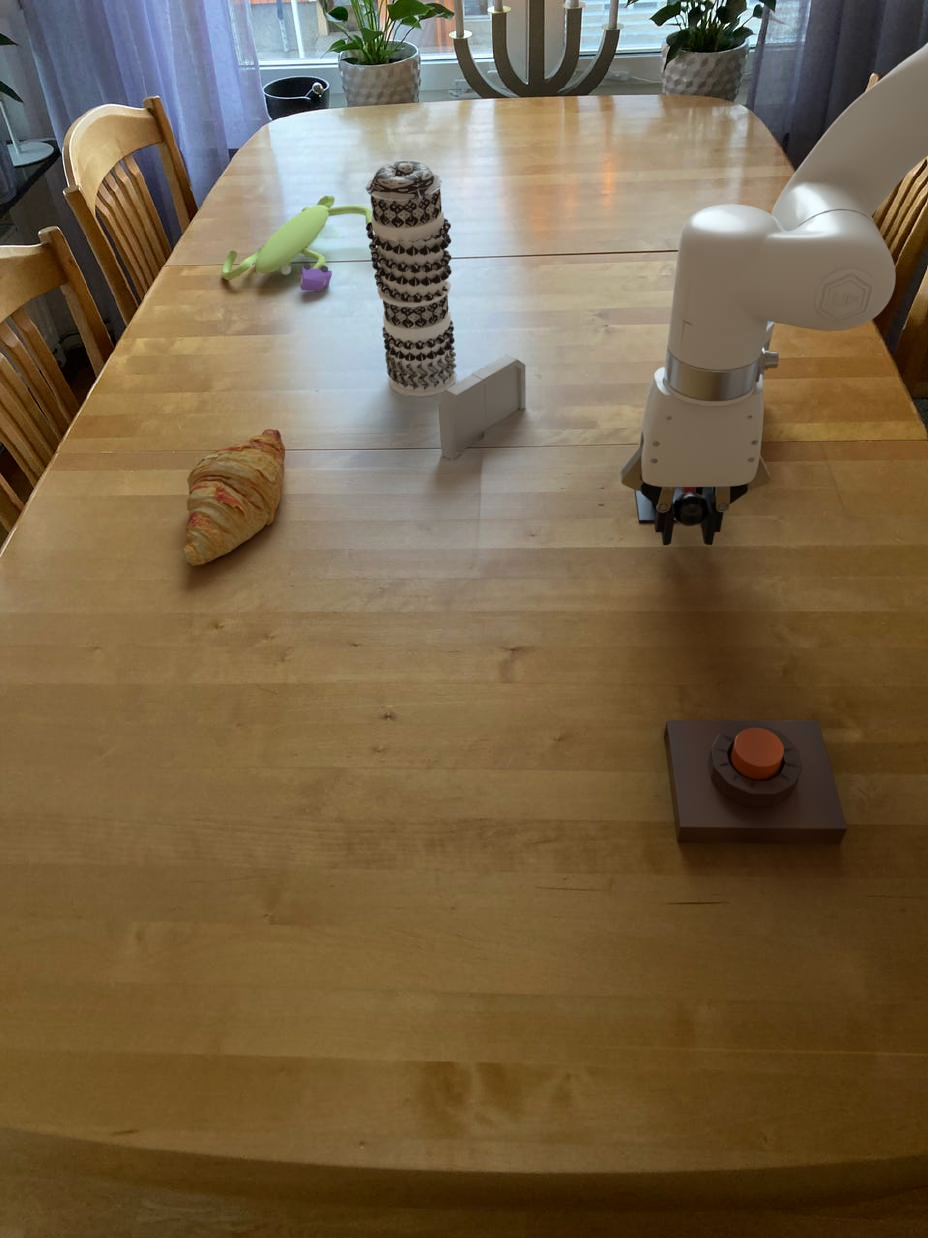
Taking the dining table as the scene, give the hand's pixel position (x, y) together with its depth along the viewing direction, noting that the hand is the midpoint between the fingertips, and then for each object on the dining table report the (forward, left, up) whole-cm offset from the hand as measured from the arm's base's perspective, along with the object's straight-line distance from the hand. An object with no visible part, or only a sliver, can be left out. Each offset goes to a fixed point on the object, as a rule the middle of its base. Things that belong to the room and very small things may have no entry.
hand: (685, 534), depth 92 cm
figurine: (+46, -67, -3) cm, 82 cm away
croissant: (+46, -8, -3) cm, 47 cm away
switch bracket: (0, -9, -3) cm, 10 cm away
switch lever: (0, -5, +4) cm, 6 cm away
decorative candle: (+28, -33, -3) cm, 43 cm away
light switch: (+20, -21, -3) cm, 29 cm away
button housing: (-2, +27, -3) cm, 27 cm away
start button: (-2, +27, +1) cm, 27 cm away
